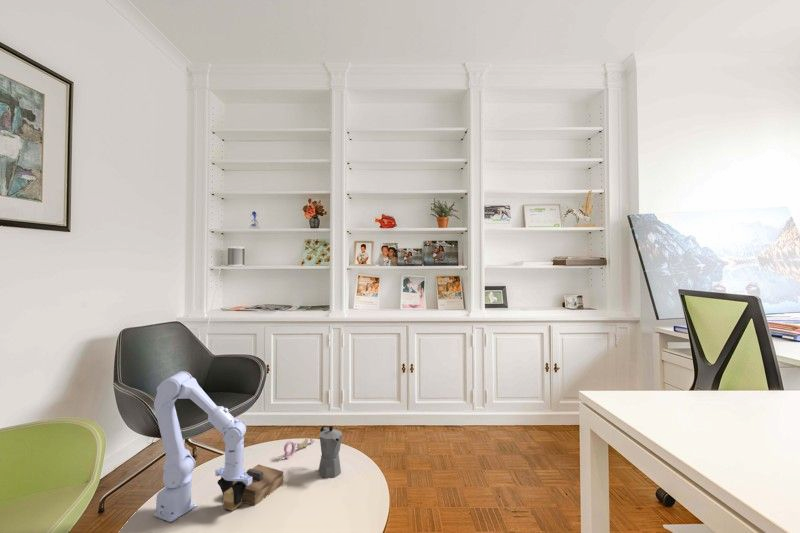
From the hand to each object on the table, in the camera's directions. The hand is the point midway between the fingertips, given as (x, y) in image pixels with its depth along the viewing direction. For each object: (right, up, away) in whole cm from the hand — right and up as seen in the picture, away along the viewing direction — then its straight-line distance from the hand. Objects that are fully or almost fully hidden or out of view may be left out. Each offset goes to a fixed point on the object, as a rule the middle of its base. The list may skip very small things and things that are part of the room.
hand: (232, 501), depth 123 cm
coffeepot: (+27, -3, +24) cm, 37 cm away
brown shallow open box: (+4, -2, +10) cm, 11 cm away
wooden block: (0, -1, 0) cm, 1 cm away
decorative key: (+12, -4, +41) cm, 43 cm away
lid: (+4, +1, +10) cm, 11 cm away
